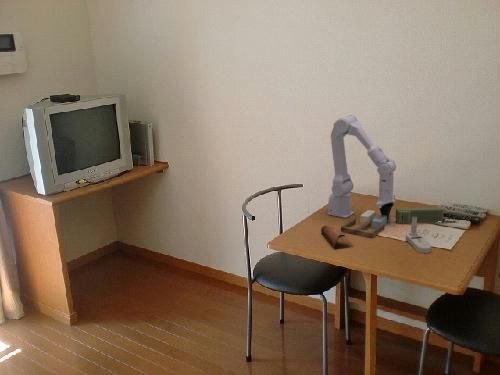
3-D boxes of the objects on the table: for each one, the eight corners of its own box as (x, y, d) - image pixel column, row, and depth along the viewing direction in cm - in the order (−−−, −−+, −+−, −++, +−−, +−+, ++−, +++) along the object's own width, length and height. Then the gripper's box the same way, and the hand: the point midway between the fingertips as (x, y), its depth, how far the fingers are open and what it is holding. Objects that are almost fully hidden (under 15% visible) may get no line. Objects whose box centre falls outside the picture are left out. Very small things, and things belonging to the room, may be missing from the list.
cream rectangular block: (368, 224, 230) (368, 216, 229) (360, 222, 232) (360, 215, 231) (375, 218, 236) (375, 211, 235) (367, 217, 238) (368, 209, 237)
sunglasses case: (356, 246, 207) (347, 233, 205) (341, 257, 207) (332, 244, 205) (340, 230, 224) (332, 218, 222) (326, 240, 224) (318, 228, 222)
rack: (340, 231, 223) (340, 226, 223) (353, 223, 231) (353, 218, 231) (372, 238, 215) (372, 233, 214) (384, 229, 223) (384, 224, 222)
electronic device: (421, 230, 196) (405, 215, 210) (419, 255, 199) (403, 238, 213) (435, 229, 196) (418, 214, 211) (433, 253, 200) (416, 237, 214)
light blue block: (380, 229, 223) (380, 221, 222) (372, 228, 225) (372, 220, 224) (386, 223, 230) (386, 215, 229) (378, 222, 232) (378, 214, 231)
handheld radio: (395, 221, 232) (455, 220, 230) (396, 225, 229) (457, 223, 227) (395, 207, 230) (456, 206, 228) (397, 210, 226) (458, 209, 224)
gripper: (387, 194, 219) (386, 226, 223) (402, 185, 230) (400, 216, 234) (371, 192, 224) (371, 223, 227) (386, 183, 234) (385, 213, 238)
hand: (385, 219), depth 231 cm, fingers closed
